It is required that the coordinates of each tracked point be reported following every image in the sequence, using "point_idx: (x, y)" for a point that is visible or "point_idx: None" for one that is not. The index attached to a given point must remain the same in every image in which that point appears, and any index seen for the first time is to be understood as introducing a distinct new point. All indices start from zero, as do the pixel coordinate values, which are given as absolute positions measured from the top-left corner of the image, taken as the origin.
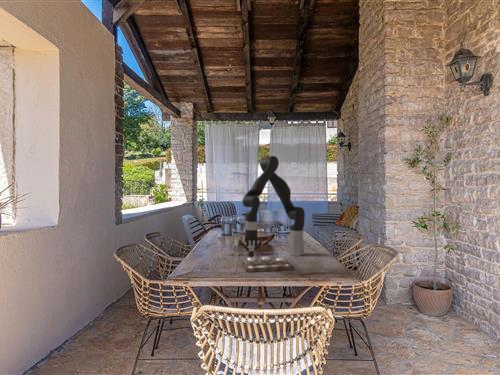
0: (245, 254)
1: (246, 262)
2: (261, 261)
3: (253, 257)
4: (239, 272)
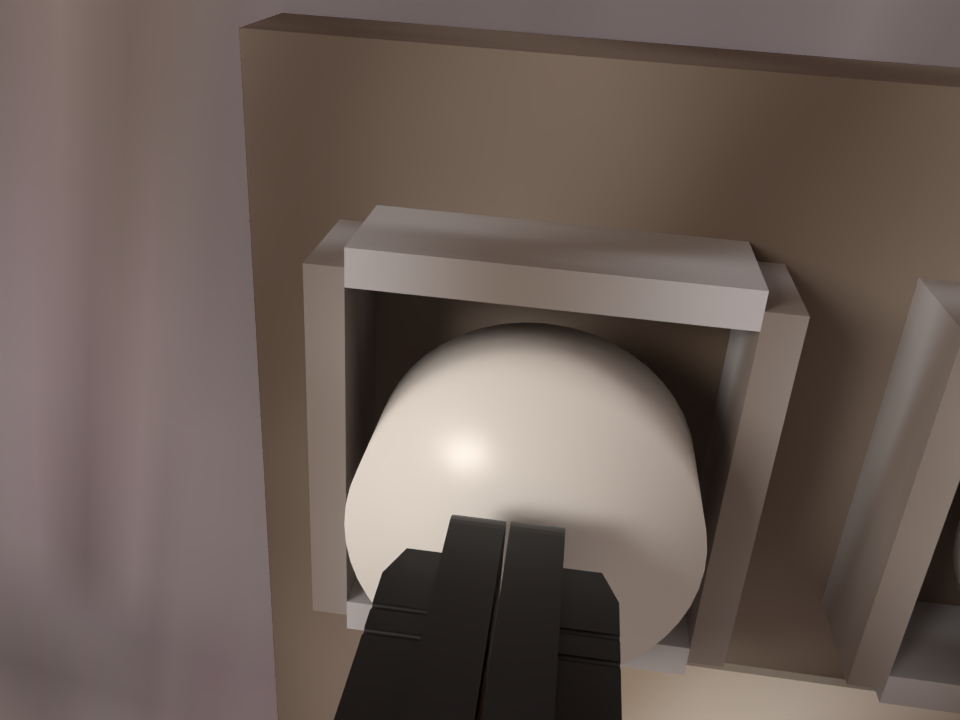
0: None
1: (316, 544)
2: (852, 666)
3: (650, 456)
4: (151, 657)
